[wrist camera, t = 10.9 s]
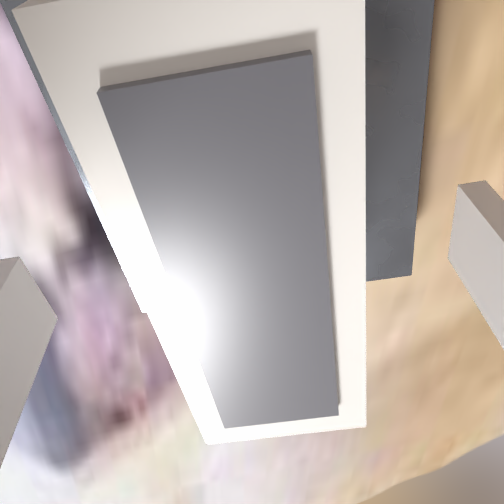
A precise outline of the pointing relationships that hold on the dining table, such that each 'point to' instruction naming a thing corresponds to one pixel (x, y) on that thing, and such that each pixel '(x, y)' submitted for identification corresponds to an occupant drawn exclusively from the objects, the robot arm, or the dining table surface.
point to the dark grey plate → (376, 129)
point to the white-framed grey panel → (228, 191)
